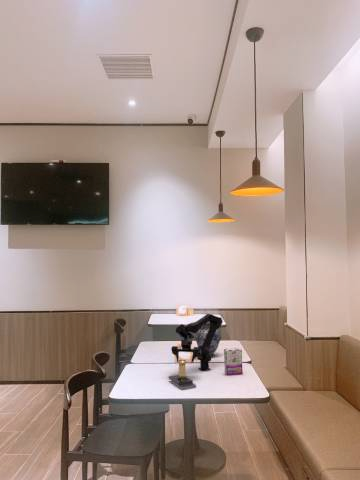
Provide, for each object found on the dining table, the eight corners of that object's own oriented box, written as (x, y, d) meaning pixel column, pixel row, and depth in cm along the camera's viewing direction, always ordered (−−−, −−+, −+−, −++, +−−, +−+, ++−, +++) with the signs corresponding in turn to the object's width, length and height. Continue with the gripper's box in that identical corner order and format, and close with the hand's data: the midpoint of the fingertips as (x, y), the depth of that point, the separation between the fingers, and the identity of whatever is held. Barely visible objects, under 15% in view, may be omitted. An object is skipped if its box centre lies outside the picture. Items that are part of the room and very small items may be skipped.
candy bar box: (240, 372, 241) (239, 347, 242) (242, 374, 236) (242, 349, 237) (224, 373, 239) (223, 348, 240) (226, 375, 234) (226, 350, 235)
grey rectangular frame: (169, 381, 225) (169, 376, 225) (182, 378, 229) (182, 374, 229) (181, 390, 208) (181, 385, 208) (196, 387, 212) (196, 382, 212)
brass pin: (177, 383, 220) (176, 360, 221) (184, 382, 222) (183, 359, 223) (180, 386, 215) (180, 362, 216) (187, 384, 217) (187, 361, 218)
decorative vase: (193, 358, 276) (193, 322, 279) (195, 353, 295) (195, 318, 297) (221, 359, 274) (220, 322, 276) (221, 354, 292) (221, 319, 294)
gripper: (171, 333, 234) (167, 355, 223) (199, 334, 231) (197, 356, 219) (174, 343, 242) (171, 364, 230) (201, 344, 238) (199, 365, 226)
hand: (184, 362), depth 226 cm, fingers open, 9 cm apart
